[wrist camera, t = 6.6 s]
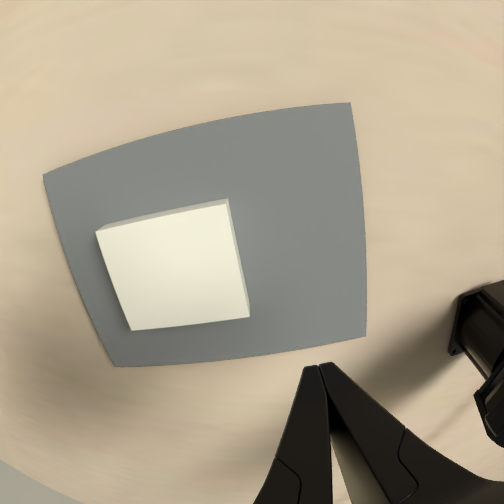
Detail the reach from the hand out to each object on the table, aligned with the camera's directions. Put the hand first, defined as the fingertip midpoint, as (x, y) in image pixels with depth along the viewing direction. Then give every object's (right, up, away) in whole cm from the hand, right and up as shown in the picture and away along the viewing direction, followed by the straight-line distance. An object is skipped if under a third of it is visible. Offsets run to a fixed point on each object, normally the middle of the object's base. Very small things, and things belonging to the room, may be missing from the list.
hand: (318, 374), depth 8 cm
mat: (-5, +3, +11) cm, 12 cm away
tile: (-3, +3, +10) cm, 10 cm away
